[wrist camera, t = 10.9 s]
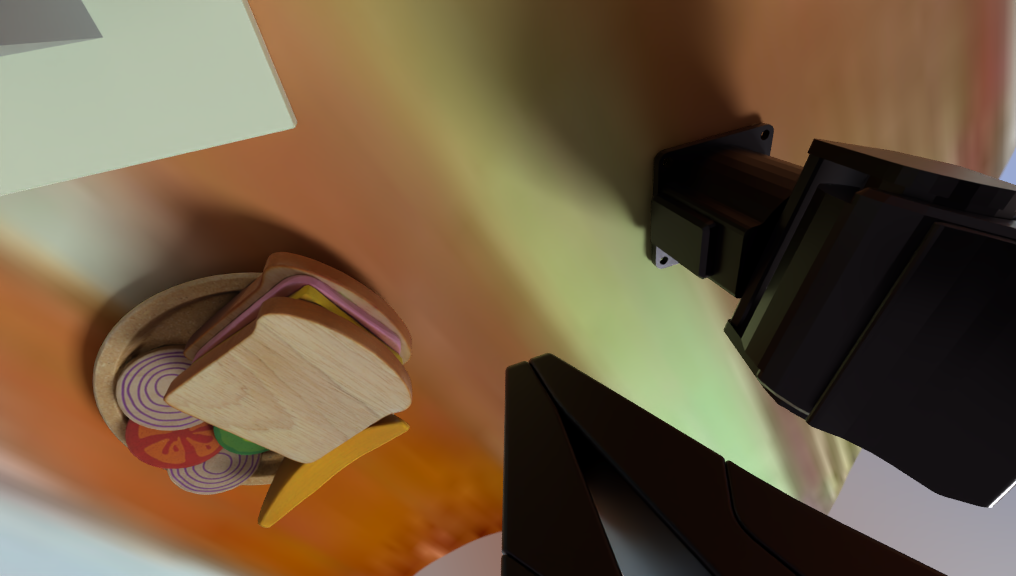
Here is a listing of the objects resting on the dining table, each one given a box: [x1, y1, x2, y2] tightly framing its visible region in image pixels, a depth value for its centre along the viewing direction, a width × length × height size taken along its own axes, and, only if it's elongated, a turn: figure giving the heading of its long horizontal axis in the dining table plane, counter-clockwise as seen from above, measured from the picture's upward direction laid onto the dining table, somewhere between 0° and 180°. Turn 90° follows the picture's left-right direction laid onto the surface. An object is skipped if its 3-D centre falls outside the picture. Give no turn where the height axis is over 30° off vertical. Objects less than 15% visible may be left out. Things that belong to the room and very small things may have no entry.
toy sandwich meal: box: [93, 252, 412, 528], centre depth 20 cm, size 12×14×5 cm
